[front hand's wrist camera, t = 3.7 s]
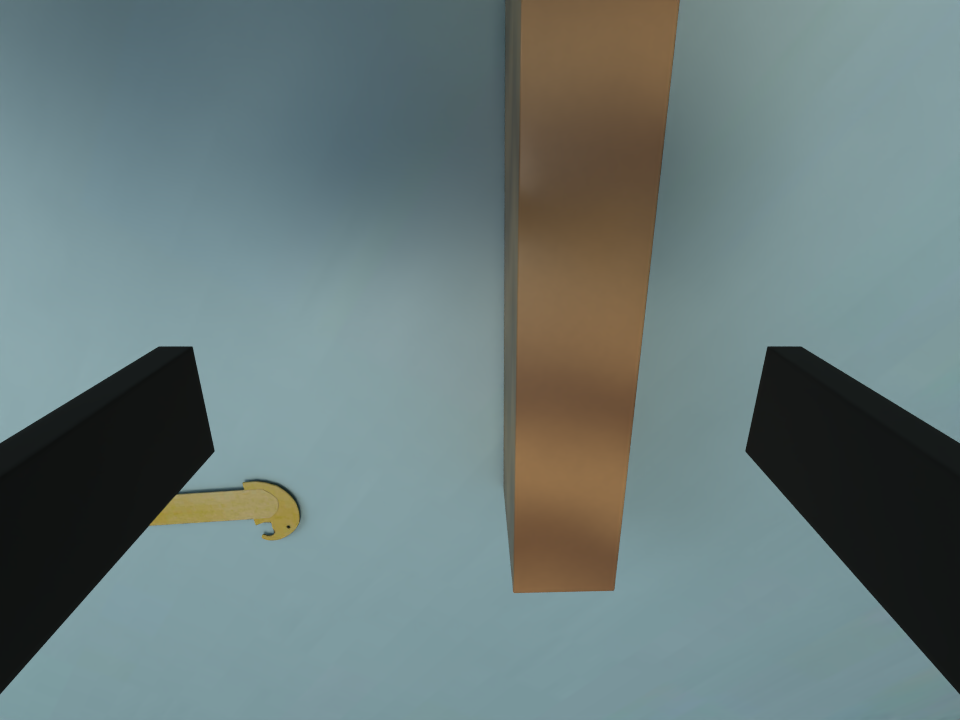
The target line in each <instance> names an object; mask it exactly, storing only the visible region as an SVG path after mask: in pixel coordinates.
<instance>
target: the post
mask: <svg viewBox="0 0 960 720" xmlns="http://www.w3.org/2000/svg"><path fill="white" fill-rule="evenodd" d="M679 2H680V0H505V234H504V498H505V509H506V520H507V531H508V541H509V552H510V563H511V574H512V584H513V592H514V593H533V592H576V591H614V588H615V579H616V570H617V561H618V552H619V543H620V534H621V525H622V516H623V507H624V498H625V489H626V480H627V471H628V462H629V453H630V444H631V435H632V426H633V416H634V407H635V398H636V389H637V380H638V371H639V362H640V353H641V344H642V335H643V326H644V317H645V308H646V299H647V290H648V281H649V272H650V263H651V254H652V245H653V236H654V227H655V218H656V209H657V200H658V191H659V182H660V173H661V164H662V155H663V146H664V137H665V128H666V119H667V110H668V101H669V92H670V83H671V74H672V65H673V56H674V47H675V38H676V29H677V20H678V11H679Z"/></svg>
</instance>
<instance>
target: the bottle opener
mask: <svg viewBox="0 0 960 720" xmlns="http://www.w3.org/2000/svg"><path fill="white" fill-rule="evenodd" d="M243 487H244V490H235V491H219V492H204V493H189V494H177V495H176V496H175V497H174V498H173V499H172V500H171V501H170V502H169V504H168V505H167V506H166V507H165V508H164V509H163V510H162V511H161V513H160V514H159V515H158V516H157V517H156V518H155V519H154V521H153V522H152V523H151V524H150V525H149V526H152V525H167V524H183V523H198V522H213V521H229V520H244V519H254V521H255V524H256V525H258V524H260V523H263V522H270V523H272V527H273V529H274V535H265V534H263V535H262V538H263V539H266V540H278V539H281V538H284V537H286V536H288V535H289V534H291V533H292V532H293V531H294V530H295V529H296V527H297V526H298V524H299V521H300V515H299V509H298V506H297V504H296V502H295V500H294V499H293V498H292V496H291V495H290V494H288V493H287V492H286V491H285V490H283V489H282V488H280V487H279V486H277V485H273V484H270V483H266V482H259V481H252V482H243ZM288 525H289V526H290V528H288V527H287V526H288Z"/></svg>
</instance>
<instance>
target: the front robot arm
mask: <svg viewBox="0 0 960 720" xmlns="http://www.w3.org/2000/svg"><path fill="white" fill-rule="evenodd" d="M213 453H214V446H213V441H212V436H211V432H210V427H209V422H208V418H207V413H206V408H205V403H204V399H203V394H202V389H201V384H200V380H199V375H198V370H197V366H196V361H195V356H194V351H193V347H157V348H156V349H154V350H152V351H151V352H149V353H148V354H146V355H144V356H143V357H141V358H139V359H138V360H136V361H134V362H133V363H131V364H129V365H128V366H126V367H125V368H123V369H121V370H120V371H118V372H116V373H115V374H113V375H111V376H110V377H108V378H107V379H105V380H103V381H102V382H100V383H98V384H97V385H95V386H93V387H92V388H90V389H88V390H87V391H85V392H84V393H82V394H80V395H79V396H77V397H75V398H74V399H72V400H70V401H69V402H67V403H66V404H64V405H62V406H61V407H59V408H57V409H56V410H54V411H52V412H51V413H49V414H47V415H46V416H44V417H43V418H41V419H39V420H38V421H36V422H34V423H33V424H31V425H29V426H28V427H26V428H25V429H23V430H21V431H20V432H18V433H16V434H15V435H13V436H11V437H10V438H8V439H6V440H5V441H3V442H2V443H0V694H1V693H2V692H3V690H4V689H5V688H6V687H7V686H8V685H9V684H10V682H11V681H12V680H13V679H14V678H15V677H16V676H17V675H18V673H19V672H20V671H21V670H22V669H23V668H24V667H25V665H26V664H27V663H28V662H29V661H30V660H31V659H32V658H33V656H34V655H35V654H36V653H37V652H38V651H39V650H40V649H41V647H42V646H43V645H44V644H45V643H46V642H47V641H48V639H49V638H50V637H51V636H52V635H53V634H54V633H55V632H56V630H57V629H58V628H59V627H60V626H61V625H62V624H63V622H64V621H65V620H66V619H67V618H68V617H69V616H70V615H71V613H72V612H73V611H74V610H75V609H76V608H77V607H78V605H79V604H80V603H81V602H82V601H83V600H84V599H85V598H86V596H87V595H88V594H89V593H90V592H91V591H92V590H93V588H94V587H95V586H96V585H97V584H98V583H99V582H100V581H101V579H102V578H103V577H104V576H105V575H106V574H107V573H108V572H109V570H110V569H111V568H112V567H113V566H114V565H115V564H116V562H117V561H118V560H119V559H120V558H121V557H122V556H123V555H124V553H125V552H126V551H127V550H128V549H129V548H130V547H131V545H132V544H133V543H134V542H135V541H136V540H137V539H138V538H139V536H140V535H141V534H142V533H143V532H144V531H145V530H146V528H147V527H148V526H149V525H150V524H151V523H152V522H153V521H154V519H155V518H156V517H157V516H158V515H159V514H160V513H161V511H162V510H163V509H164V508H165V507H166V506H167V505H168V504H169V502H170V501H171V500H172V499H173V498H174V497H175V496H176V495H177V493H178V492H179V491H180V490H181V489H182V488H183V487H184V485H185V484H186V483H187V482H188V481H189V480H190V479H191V478H192V476H193V475H194V474H195V473H196V472H197V471H198V470H199V468H200V467H201V466H202V465H203V464H204V463H205V462H206V461H207V459H208V458H209V457H210V456H211V455H212V454H213ZM746 453H747V454H748V455H749V456H750V457H751V458H752V459H753V461H754V462H755V463H756V464H757V465H758V466H759V467H760V468H761V470H762V471H763V472H764V473H765V474H766V475H767V476H768V478H769V479H770V480H771V481H772V482H773V483H774V484H775V485H776V487H777V488H778V489H779V490H780V491H781V492H782V493H783V495H784V496H785V497H786V498H787V499H788V500H789V501H790V502H791V504H792V505H793V506H794V507H795V508H796V509H797V510H798V511H799V513H800V514H801V515H802V516H803V517H804V518H805V519H806V521H807V522H808V523H809V524H810V525H811V526H812V527H813V528H814V530H815V531H816V532H817V533H818V534H819V535H820V536H821V538H822V539H823V540H824V541H825V542H826V543H827V544H828V545H829V547H830V548H831V549H832V550H833V551H834V552H835V553H836V555H837V556H838V557H839V558H840V559H841V560H842V561H843V562H844V564H845V565H846V566H847V567H848V568H849V569H850V570H851V572H852V573H853V574H854V575H855V576H856V577H857V578H858V579H859V581H860V582H861V583H862V584H863V585H864V586H865V587H866V588H867V590H868V591H869V592H870V593H871V594H872V595H873V596H874V598H875V599H876V600H877V601H878V602H879V603H880V604H881V605H882V607H883V608H884V609H885V610H886V611H887V612H888V613H889V615H890V616H891V617H892V618H893V619H894V620H895V621H896V622H897V624H898V625H899V626H900V627H901V628H902V629H903V630H904V632H905V633H906V634H907V635H908V636H909V637H910V638H911V639H912V641H913V642H914V643H915V644H916V645H917V646H918V647H919V649H920V650H921V651H922V652H923V653H924V654H925V655H926V656H927V658H928V659H929V660H930V661H931V662H932V663H933V664H934V665H935V667H936V668H937V669H938V670H939V671H940V672H941V673H942V675H943V676H944V677H945V678H946V679H947V680H948V681H949V682H950V684H951V685H952V686H953V687H954V688H955V689H956V690H957V692H958V693H959V694H960V443H958V442H957V441H955V440H954V439H952V438H950V437H949V436H947V435H945V434H944V433H942V432H940V431H939V430H937V429H935V428H934V427H932V426H931V425H929V424H927V423H926V422H924V421H922V420H921V419H919V418H917V417H916V416H914V415H913V414H911V413H909V412H908V411H906V410H904V409H903V408H901V407H899V406H898V405H896V404H894V403H893V402H891V401H890V400H888V399H886V398H885V397H883V396H881V395H880V394H878V393H876V392H875V391H873V390H872V389H870V388H868V387H867V386H865V385H863V384H862V383H860V382H858V381H857V380H855V379H853V378H852V377H850V376H849V375H847V374H845V373H844V372H842V371H840V370H839V369H837V368H835V367H834V366H832V365H831V364H829V363H827V362H826V361H824V360H822V359H821V358H819V357H817V356H816V355H814V354H812V353H811V352H809V351H808V350H806V349H804V348H803V347H767V351H766V356H765V361H764V366H763V370H762V375H761V380H760V384H759V389H758V394H757V399H756V403H755V408H754V413H753V418H752V422H751V427H750V432H749V436H748V441H747V446H746Z"/></svg>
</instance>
